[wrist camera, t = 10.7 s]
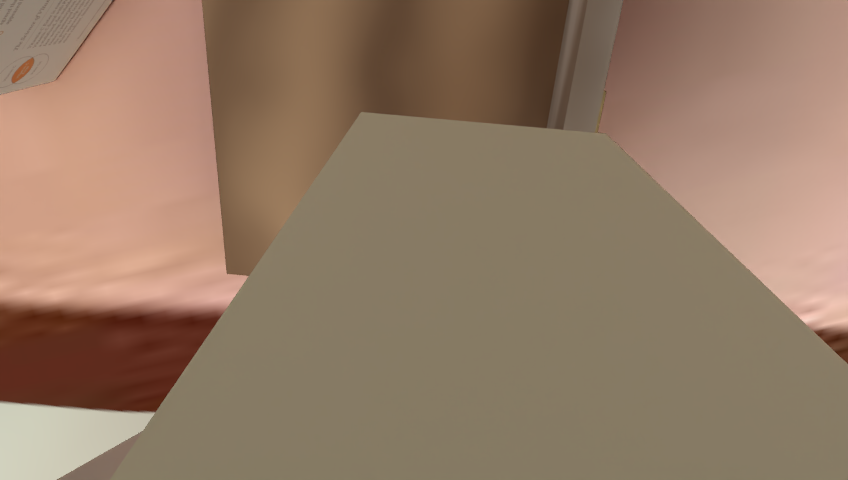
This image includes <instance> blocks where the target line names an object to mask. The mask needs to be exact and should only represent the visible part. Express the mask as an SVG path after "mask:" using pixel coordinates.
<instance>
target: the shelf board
mask: <svg viewBox="0 0 848 480" xmlns="http://www.w3.org/2000/svg"><path fill="white" fill-rule="evenodd" d="M622 4H623V0H202V7H203V18H204V29H205V40H206V51H207V62H208V73H209V84H210V95H211V106H212V116H213V127H214V138H215V149H216V160H217V171H218V182H219V193H220V204H221V215H222V226H223V237H224V248H225V259H226V270H227V274H236V275H247V276H249V275H250V274H251V272H252V271H253V269H254V268H255V267H256V265H257V264H258V262H259V261H260V259H261V258H262V256H263V255H264V253H265V252H266V250H267V249H268V247H269V246H270V245H271V243H272V242H273V240H274V239H275V237H276V236H277V234H278V233H279V231H280V230H281V228H282V227H283V226H284V224H285V223H286V221H287V220H288V218H289V217H290V215H291V214H292V212H293V211H294V209H295V208H296V207H297V205H298V204H299V202H300V201H301V199H302V198H303V196H304V195H305V193H306V192H307V190H308V189H309V188H310V186H311V185H312V183H313V182H314V180H315V179H316V177H317V176H318V174H319V173H320V171H321V170H322V169H323V167H324V166H325V164H326V163H327V161H328V160H329V158H330V157H331V155H332V154H333V152H334V151H335V150H336V148H337V147H338V145H339V144H340V142H341V141H342V139H343V138H344V136H345V135H346V133H347V132H348V131H349V129H350V128H351V126H352V125H353V123H354V122H355V120H356V119H357V117H358V116H359V114H360V113H361V112H367V113H378V114H390V115H401V116H412V117H424V118H435V119H446V120H458V121H469V122H480V123H492V124H503V125H514V126H526V127H537V128H548V129H560V130H571V131H582V132H594V133H597V132H598V128H599V123H600V118H601V114H602V109H603V105H604V100H605V95H606V91H605V90H604V88H605V83H606V78H607V74H608V69H609V64H610V60H611V55H612V50H613V46H614V41H615V37H616V32H617V27H618V23H619V18H620V13H621V9H622Z"/></svg>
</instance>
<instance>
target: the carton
mask: <svg viewBox="0 0 848 480" xmlns="http://www.w3.org/2000/svg"><path fill="white" fill-rule="evenodd" d="M110 480H848V364H847V363H846V362H845V361H844V360H843V359H842V358H841V357H840V356H838V355H837V354H836V353H835V352H834V351H833V350H832V349H831V348H830V347H829V346H828V345H827V344H826V343H825V342H824V341H823V340H822V339H821V338H820V337H819V336H817V335H816V334H815V333H814V332H813V331H812V330H811V329H810V328H809V327H808V326H807V325H806V324H805V323H804V322H803V321H802V320H801V319H800V318H799V317H798V316H797V315H795V314H794V313H793V312H792V311H791V310H790V309H789V308H788V307H787V306H786V305H785V304H784V303H783V302H782V301H781V300H780V299H779V298H778V297H777V296H776V295H775V294H773V293H772V292H771V291H770V290H769V289H768V288H767V287H766V286H765V285H764V284H763V283H762V282H761V281H760V280H759V279H758V278H757V277H756V276H755V275H754V274H753V273H751V272H750V271H749V270H748V269H747V268H746V267H745V266H744V265H743V264H742V263H741V262H740V261H739V260H738V259H737V258H736V257H735V256H734V255H733V254H732V253H730V252H729V251H728V250H727V249H726V248H725V247H724V246H723V245H722V244H721V243H720V242H719V241H718V240H717V239H716V238H715V237H714V236H713V235H712V234H711V233H710V232H708V231H707V230H706V229H705V228H704V227H703V226H702V225H701V224H700V223H699V222H698V221H697V220H696V219H695V218H694V217H693V216H692V215H691V214H690V213H689V212H688V211H686V210H685V209H684V208H683V207H682V206H681V205H680V204H679V203H678V202H677V201H676V200H675V199H674V198H673V197H672V196H671V195H670V194H669V193H668V192H667V191H666V190H664V189H663V188H662V187H661V186H660V185H659V184H658V183H657V182H656V181H655V180H654V179H653V178H652V177H651V176H650V175H649V174H648V173H647V172H646V171H645V170H643V169H642V168H641V167H640V166H639V165H638V164H637V163H636V162H635V161H634V160H633V159H632V158H631V157H630V156H629V155H628V154H627V153H626V152H625V151H624V150H623V149H621V148H620V147H619V146H618V145H617V144H616V143H615V142H614V141H613V140H612V139H611V138H610V137H609V136H608V135H607V134H605V133H594V132H582V131H571V130H560V129H548V128H537V127H526V126H514V125H503V124H492V123H480V122H469V121H458V120H446V119H435V118H424V117H412V116H401V115H390V114H378V113H367V112H361V113H360V114H359V116H358V117H357V119H356V120H355V122H354V123H353V125H352V126H351V128H350V129H349V131H348V132H347V133H346V135H345V136H344V138H343V139H342V141H341V142H340V144H339V145H338V147H337V148H336V150H335V151H334V152H333V154H332V155H331V157H330V158H329V160H328V161H327V163H326V164H325V166H324V167H323V169H322V170H321V171H320V173H319V174H318V176H317V177H316V179H315V180H314V182H313V183H312V185H311V186H310V188H309V189H308V190H307V192H306V193H305V195H304V196H303V198H302V199H301V201H300V202H299V204H298V205H297V207H296V208H295V209H294V211H293V212H292V214H291V215H290V217H289V218H288V220H287V221H286V223H285V224H284V226H283V227H282V228H281V230H280V231H279V233H278V234H277V236H276V237H275V239H274V240H273V242H272V243H271V245H270V246H269V247H268V249H267V250H266V252H265V253H264V255H263V256H262V258H261V259H260V261H259V262H258V264H257V265H256V267H255V268H254V269H253V271H252V272H251V274H250V275H249V277H248V278H247V280H246V281H245V283H244V284H243V286H242V287H241V288H240V290H239V291H238V293H237V294H236V296H235V297H234V299H233V300H232V302H231V303H230V305H229V306H228V307H227V309H226V310H225V312H224V313H223V315H222V316H221V318H220V319H219V321H218V322H217V324H216V325H215V326H214V328H213V329H212V331H211V332H210V334H209V335H208V337H207V338H206V340H205V341H204V343H203V344H202V345H201V347H200V348H199V350H198V351H197V353H196V354H195V356H194V357H193V359H192V360H191V362H190V363H189V364H188V366H187V367H186V369H185V370H184V372H183V373H182V375H181V376H180V378H179V379H178V381H177V382H176V383H175V385H174V386H173V388H172V389H171V391H170V392H169V394H168V395H167V397H166V398H165V400H164V401H163V402H162V404H161V405H160V407H159V408H158V410H157V411H156V413H155V414H154V416H153V417H152V419H151V420H150V422H149V423H148V424H147V426H146V427H145V429H144V430H143V432H142V433H141V435H140V436H139V438H138V439H137V440H136V442H135V443H134V445H133V446H132V448H131V449H130V451H129V452H128V454H127V455H126V457H125V458H124V459H123V461H122V462H121V464H120V465H119V467H118V468H117V470H116V471H115V473H114V474H113V476H112V477H111V478H110Z"/></svg>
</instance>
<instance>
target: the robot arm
mask: <svg viewBox="0 0 848 480" xmlns="http://www.w3.org/2000/svg"><path fill="white" fill-rule="evenodd" d="M142 432H143V431H142ZM142 432H140V433H138V434H137V435H135V436H133V437H131V438H130V439H128V440H126V441H124V442H122V443H121V444H119V445H117V446H115V447H114V448H112V449H110V450H108V451H107V452H105V453H103V454H101V455H100V456H98V457H96V458H94V459H93V460H91V461H89V462H87V463H86V464H84V465H82V466H80V467H78V468H77V469H75V470H73V471H71V472H70V473H68V474H66V475H64V476H63V477H61V478H59V479H57V480H110V478H111V477H112V476H113V474H114V473H115V471H116V470H117V468H118V467H119V465H120V464H121V462H122V461H123V459H124V458H125V457H126V455H127V454H128V452H129V451H130V449H131V448H132V446H133V445H134V443H135V442H136V440H137V439H138V438H139V436H140V435H141V433H142Z"/></svg>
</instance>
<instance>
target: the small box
mask: <svg viewBox="0 0 848 480" xmlns="http://www.w3.org/2000/svg"><path fill="white" fill-rule="evenodd" d="M112 1H113V0H0V95H1V94H5V93H9V92H13V91H17V90H21V89H25V88H29V87H33V86H37V85H41V84H45V83H49V82H53V81H55V80H56V78H57V77H58V76H59V74H60V73H61V71H62V70H63V69H64V67H65V66H66V65H67V63H68V62H69V60H70V59H71V58H72V56H73V55H74V54H75V52H76V51H77V49H78V48H79V47H80V45H81V44H82V42H83V41H84V40H85V38H86V37H87V35H88V34H89V33H90V31H91V30H92V29H93V27H94V26H95V24H96V23H97V22H98V20H99V19H100V17H101V16H102V15H103V13H104V12H105V11H106V9H107V8H108V6H109V5H110V4H111V2H112Z"/></svg>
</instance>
